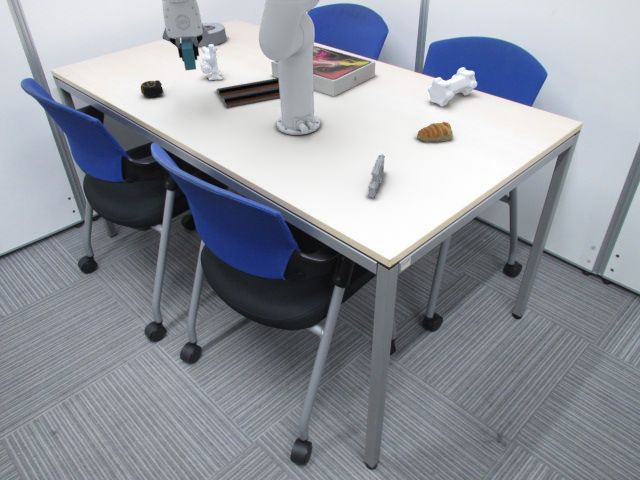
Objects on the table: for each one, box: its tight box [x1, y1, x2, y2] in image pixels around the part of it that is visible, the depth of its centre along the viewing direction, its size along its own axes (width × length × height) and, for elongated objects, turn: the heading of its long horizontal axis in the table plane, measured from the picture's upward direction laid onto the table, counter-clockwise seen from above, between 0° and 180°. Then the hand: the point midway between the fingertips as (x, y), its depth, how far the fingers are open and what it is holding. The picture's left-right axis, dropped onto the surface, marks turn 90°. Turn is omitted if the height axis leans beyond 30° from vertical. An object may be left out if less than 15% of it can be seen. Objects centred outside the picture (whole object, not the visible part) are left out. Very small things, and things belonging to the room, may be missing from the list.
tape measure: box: [140, 79, 164, 98], centre depth 174 cm, size 7×7×4 cm
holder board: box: [215, 77, 280, 109], centre depth 174 cm, size 14×22×2 cm, turn 112°
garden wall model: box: [367, 153, 386, 199], centre depth 127 cm, size 12×2×6 cm, turn 163°
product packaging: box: [270, 44, 376, 97], centre depth 183 cm, size 22×28×5 cm
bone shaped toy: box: [427, 66, 478, 107], centre depth 164 cm, size 15×9×8 cm, turn 131°
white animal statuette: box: [199, 44, 223, 81], centre depth 182 cm, size 8×7×12 cm
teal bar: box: [180, 37, 197, 71], centre depth 156 cm, size 16×3×6 cm, turn 12°
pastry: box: [416, 121, 454, 143], centre depth 146 cm, size 9×7×4 cm
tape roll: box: [192, 22, 227, 48], centre depth 216 cm, size 15×15×5 cm
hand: (189, 58), depth 158 cm, fingers closed on teal bar, 3 cm apart
